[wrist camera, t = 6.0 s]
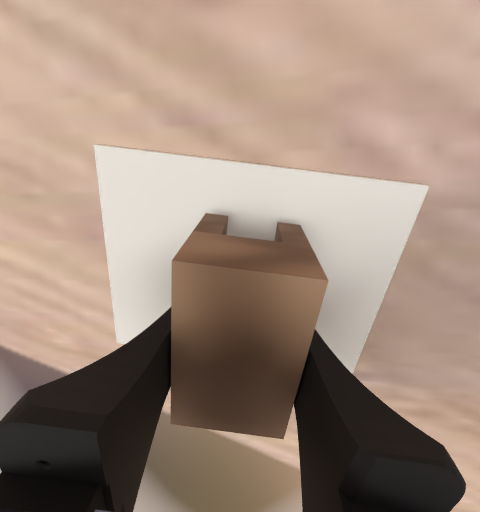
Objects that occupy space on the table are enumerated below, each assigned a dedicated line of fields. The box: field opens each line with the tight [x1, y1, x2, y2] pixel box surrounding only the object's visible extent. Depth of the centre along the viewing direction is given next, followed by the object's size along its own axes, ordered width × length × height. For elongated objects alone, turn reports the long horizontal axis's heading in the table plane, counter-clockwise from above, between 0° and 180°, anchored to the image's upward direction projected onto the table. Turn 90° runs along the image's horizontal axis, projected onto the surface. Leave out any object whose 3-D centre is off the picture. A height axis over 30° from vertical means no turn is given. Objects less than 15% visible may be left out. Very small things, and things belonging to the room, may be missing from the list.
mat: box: [94, 144, 429, 374], centre depth 17 cm, size 18×14×1 cm
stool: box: [171, 213, 329, 439], centre depth 13 cm, size 5×8×6 cm, turn 174°
